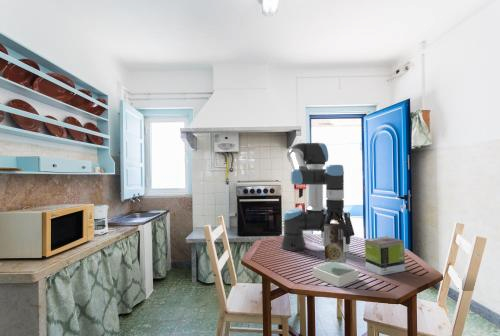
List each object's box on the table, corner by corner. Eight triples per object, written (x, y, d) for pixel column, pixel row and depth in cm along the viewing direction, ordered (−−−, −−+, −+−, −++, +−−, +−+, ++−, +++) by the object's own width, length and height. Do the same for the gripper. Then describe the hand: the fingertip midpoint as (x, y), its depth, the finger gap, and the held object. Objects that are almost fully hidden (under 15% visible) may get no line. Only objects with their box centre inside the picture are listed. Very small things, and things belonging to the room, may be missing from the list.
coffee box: (345, 259, 124) (345, 223, 124) (346, 263, 118) (345, 226, 118) (325, 257, 127) (324, 222, 127) (324, 261, 121) (323, 225, 121)
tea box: (388, 264, 139) (388, 235, 139) (405, 271, 130) (405, 240, 130) (364, 268, 134) (364, 238, 134) (381, 276, 125) (380, 243, 125)
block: (312, 276, 125) (312, 267, 125) (332, 269, 133) (332, 260, 133) (338, 287, 113) (338, 276, 113) (358, 279, 121) (358, 269, 121)
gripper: (309, 197, 130) (309, 244, 130) (352, 202, 111) (352, 256, 111) (320, 196, 135) (320, 241, 134) (363, 200, 116) (363, 253, 116)
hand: (335, 248), depth 123 cm, fingers closed on coffee box, 11 cm apart
